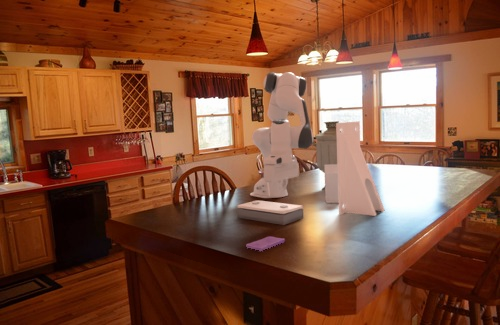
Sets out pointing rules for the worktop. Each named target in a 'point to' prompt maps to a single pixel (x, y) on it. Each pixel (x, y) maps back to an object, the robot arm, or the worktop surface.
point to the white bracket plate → (354, 174)
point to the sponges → (265, 243)
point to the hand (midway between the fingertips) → (282, 190)
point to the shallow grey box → (270, 216)
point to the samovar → (326, 146)
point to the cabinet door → (270, 206)
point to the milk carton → (331, 183)
